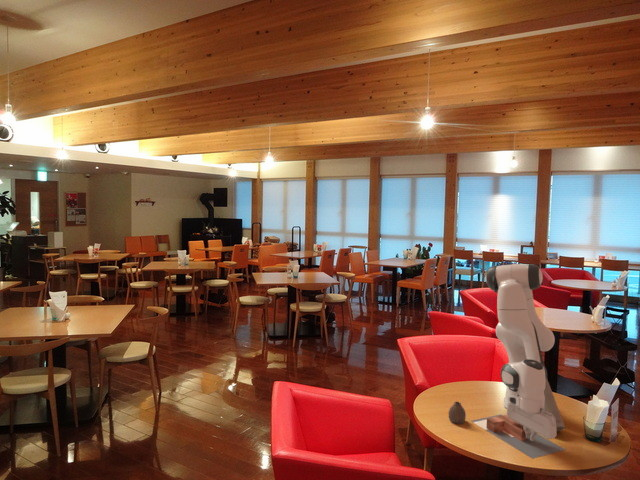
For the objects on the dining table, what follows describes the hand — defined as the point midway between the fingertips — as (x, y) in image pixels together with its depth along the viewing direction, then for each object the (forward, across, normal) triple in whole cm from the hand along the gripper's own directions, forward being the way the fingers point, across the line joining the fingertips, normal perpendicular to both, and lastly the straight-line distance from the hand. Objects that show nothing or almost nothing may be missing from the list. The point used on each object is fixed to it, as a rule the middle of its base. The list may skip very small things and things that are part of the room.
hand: (530, 439), depth 174 cm
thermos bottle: (0, +2, -15) cm, 15 cm away
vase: (+2, +25, +14) cm, 29 cm away
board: (+2, +7, 0) cm, 7 cm away
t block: (+1, +9, 0) cm, 9 cm away
